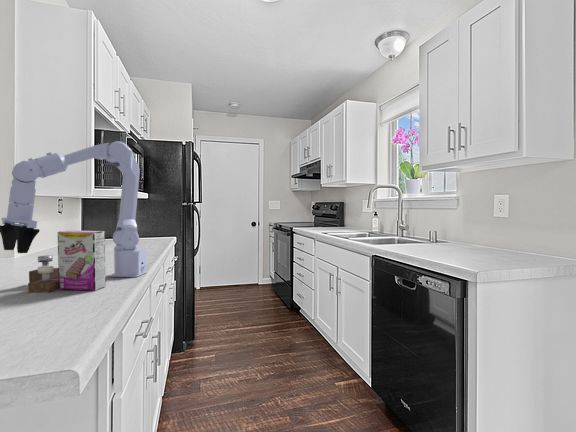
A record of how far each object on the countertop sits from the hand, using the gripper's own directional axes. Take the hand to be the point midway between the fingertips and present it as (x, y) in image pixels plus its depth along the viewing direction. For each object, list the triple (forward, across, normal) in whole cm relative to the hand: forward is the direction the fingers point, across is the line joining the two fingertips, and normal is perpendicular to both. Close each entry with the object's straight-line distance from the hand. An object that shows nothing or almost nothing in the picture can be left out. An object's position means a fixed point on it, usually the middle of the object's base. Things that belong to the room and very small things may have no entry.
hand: (15, 251), depth 97 cm
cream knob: (+8, +10, +4) cm, 13 cm away
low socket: (+10, +10, +4) cm, 15 cm away
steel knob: (+8, +3, +7) cm, 11 cm away
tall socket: (+10, +3, +7) cm, 13 cm away
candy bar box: (+9, +18, +10) cm, 22 cm away
